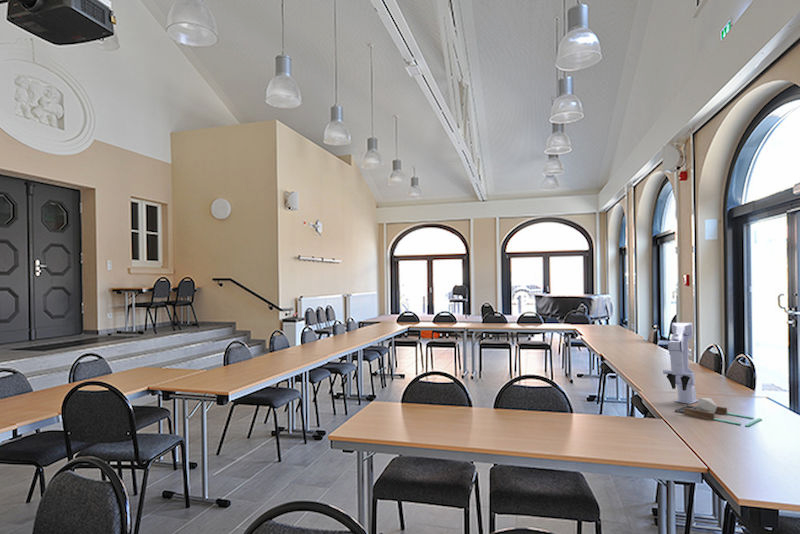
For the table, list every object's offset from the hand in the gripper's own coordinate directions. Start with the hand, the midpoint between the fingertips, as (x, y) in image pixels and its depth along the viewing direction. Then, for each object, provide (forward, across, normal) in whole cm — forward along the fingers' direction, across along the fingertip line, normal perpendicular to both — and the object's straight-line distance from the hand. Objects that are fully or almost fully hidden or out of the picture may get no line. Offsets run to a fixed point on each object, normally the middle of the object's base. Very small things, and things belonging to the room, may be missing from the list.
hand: (679, 389), depth 238 cm
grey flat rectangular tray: (+10, +2, 0) cm, 11 cm away
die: (+11, +12, 0) cm, 16 cm away
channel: (+10, +12, 0) cm, 16 cm away
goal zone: (+10, +26, 0) cm, 28 cm away
